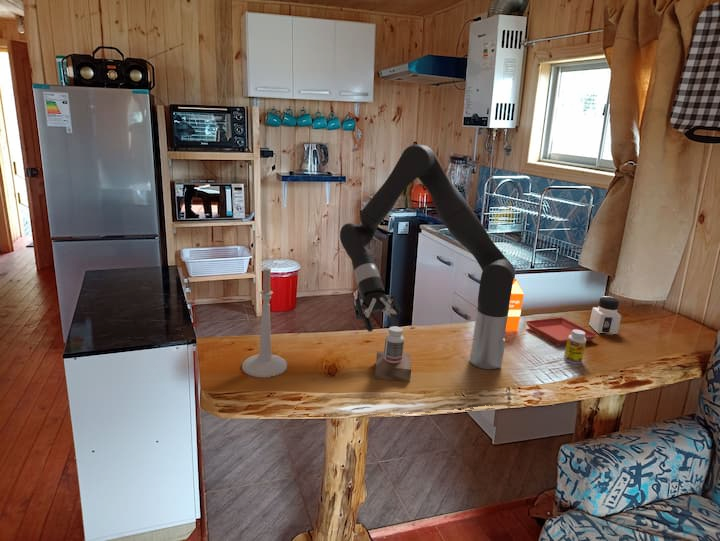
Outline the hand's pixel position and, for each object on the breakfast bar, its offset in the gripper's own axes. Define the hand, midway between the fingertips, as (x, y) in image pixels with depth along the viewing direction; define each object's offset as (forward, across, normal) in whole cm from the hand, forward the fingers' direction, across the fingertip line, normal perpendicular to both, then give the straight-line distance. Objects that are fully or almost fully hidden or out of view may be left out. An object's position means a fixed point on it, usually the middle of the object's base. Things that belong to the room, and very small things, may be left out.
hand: (383, 329), depth 158 cm
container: (+10, +94, +5) cm, 95 cm away
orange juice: (0, +58, +15) cm, 60 cm away
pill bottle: (+10, 0, 0) cm, 10 cm away
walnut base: (+13, 0, +3) cm, 13 cm away
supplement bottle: (+21, +61, -6) cm, 65 cm away
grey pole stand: (+2, -34, +14) cm, 37 cm away
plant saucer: (+10, +74, +6) cm, 74 cm away
